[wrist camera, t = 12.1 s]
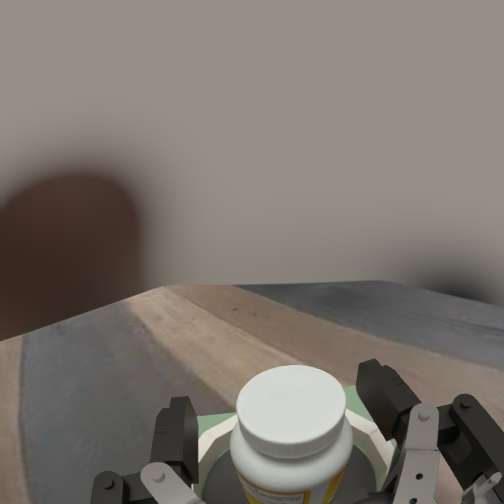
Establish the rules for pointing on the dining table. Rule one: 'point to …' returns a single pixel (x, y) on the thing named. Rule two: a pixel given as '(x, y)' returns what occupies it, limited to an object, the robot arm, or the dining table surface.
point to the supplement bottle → (291, 436)
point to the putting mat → (354, 478)
